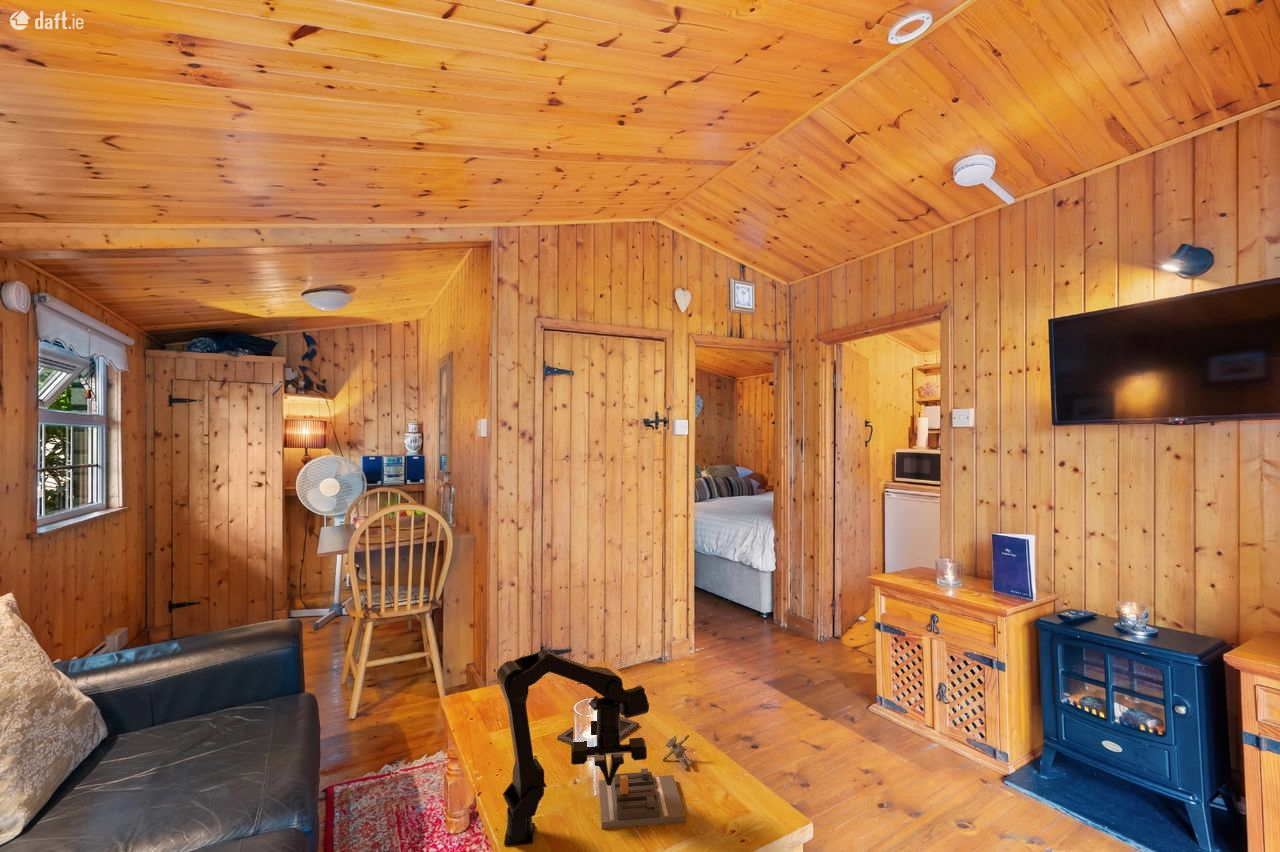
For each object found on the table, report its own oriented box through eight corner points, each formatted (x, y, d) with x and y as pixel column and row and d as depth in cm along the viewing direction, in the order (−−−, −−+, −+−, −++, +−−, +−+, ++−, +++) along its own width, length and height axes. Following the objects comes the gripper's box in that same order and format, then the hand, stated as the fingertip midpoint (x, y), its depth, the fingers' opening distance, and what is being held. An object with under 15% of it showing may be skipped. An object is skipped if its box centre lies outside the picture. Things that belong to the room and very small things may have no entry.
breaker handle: (628, 793, 144) (628, 780, 144) (621, 794, 144) (620, 781, 144) (627, 788, 147) (627, 775, 147) (620, 788, 146) (620, 775, 146)
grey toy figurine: (670, 775, 158) (654, 749, 165) (679, 783, 161) (663, 757, 168) (697, 749, 160) (680, 724, 167) (705, 757, 163) (688, 733, 170)
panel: (685, 822, 138) (684, 803, 138) (601, 828, 136) (601, 809, 136) (673, 780, 155) (673, 763, 155) (599, 786, 153) (598, 768, 153)
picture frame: (597, 758, 168) (639, 728, 185) (597, 751, 168) (639, 721, 185) (557, 741, 177) (600, 714, 194) (557, 735, 177) (600, 708, 194)
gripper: (641, 705, 154) (642, 764, 154) (571, 709, 152) (571, 769, 152) (646, 725, 143) (647, 789, 143) (571, 730, 141) (571, 795, 141)
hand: (609, 784), depth 145 cm, fingers closed
